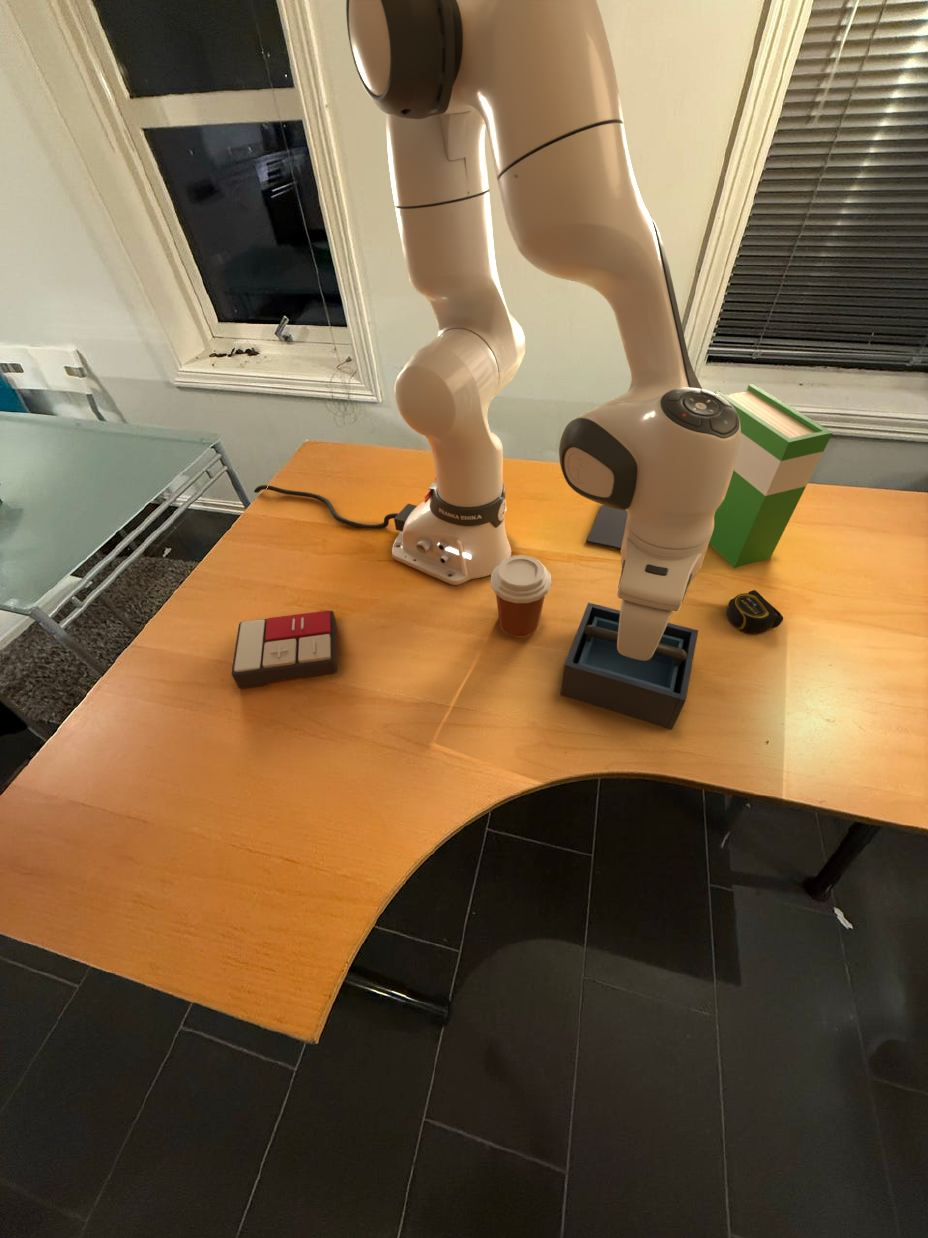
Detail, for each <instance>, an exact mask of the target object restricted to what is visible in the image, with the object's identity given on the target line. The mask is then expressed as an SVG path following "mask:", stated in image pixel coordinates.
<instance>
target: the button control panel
mask: <svg viewBox="0 0 928 1238" xmlns="http://www.w3.org/2000/svg"><path fill="white" fill-rule="evenodd" d="M337 630H338V629H337V620H336V616H335V613H334V611H333V610H320V611H312V612H311V611H310V612H305V613H296V614H289V615H281V616H280V615H279V616H272V617H268V618H260V619H253V620H252V619H251V620H246V621H240V622H239V623H238V627H237V633H236V634H237V635H236V642H235V647H234V654H233V655H234V656H233V660H232V667H231V676H232V678H233V680H234V682H235V685H236V686H237V687H238V689H239V690H240V689H250V688H256V687H257V688H258V687H263V686H265V685H266V684H269V683H274V682H281V681H286V680H288V681H289V680H295V679H303V678H308V677H310V678H311V677H316V676H323V675H330V674H336V673H337V672H338V635H337V634H338V631H337Z"/></svg>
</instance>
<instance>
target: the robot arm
mask: <svg viewBox="0 0 928 1238" xmlns="http://www.w3.org/2000/svg"><path fill="white" fill-rule="evenodd" d="M345 1H346V3H345V12H346V13H345V14H346V15H345V16H346V27H347V36H348V42H349V46H350V47H349V48H350V52H351V56H352V60H353V64H354V67H355V71H356V73H357V75H358V78H359V81H360V83H361V85H362V87H363V88H364V90H365V92H366V93H367V95H368V96H369V97H370V99H371V101H373V102H374V104H375V106H377V108H378V109H379V110H380V111H382V112H383V113H385V129H386V144H387V158H388V168H389V174H390V175H389V176H390V184H391V191H392V196H393V203H394V209H395V214H396V219H397V227H398V232H399V236H400V242H401V248H402V254H403V260H404V264H405V271H406V276H407V279H408V281H409V284H410V285H411V287H412V289H414V290H415V291H416V292H417V293H418V294H420V295H421V296H423V297H425V298H426V301H428V303H429V305H430V308H431V310H432V312H433V315H434V318H435V320H436V321H435V322H436V324H437V330H438V331H437V337H435V338H434V339H433V340H431V341H429V342H428V343H427V344H425V345H423V346H422V347H421V348H420V349H418V350H416V352H415V353H414V354H413V355H412V356H411V357H410V358H409V360H408V361H407V362H406V364H405V365H404V367H403V368H402V369H401V371H400V372H399V374H398V375H397V377H396V379H395V382H394V386H393V390H394V391H393V392H394V393H393V394H394V401H395V404H396V408H397V410H398V412H399V414H400V416H401V418H402V419H403V421H404V422H405V423H406V424H407V426H409V427H410V428H411V429H412V430H414V431H415V432H417V434H420V435H422V436H424V437H425V438H426V440H427V442H428V444H429V446H430V450H431V453H432V454H431V455H432V458H433V466H434V473H435V477H434V482H432V483H431V484H430V486H429V487H428V491H427V492H426V493H425V495H424V497H423V499H424V501H422V502H420V503H419V504H418V505H417V504H411V503H407V504H406V505H405V506H404V507H403V508H402V509H401V511H399V512H392V513H388V514H386V515H385V516H384V518H383V522H381V523H376V524H367V523H360V522H356V521H353V520H350V519H347V518H344V517H342V516H340V515H339V513H337V511H336V509H335V508H334V506H333V504H332V503H331V502H330V501H329V499H327V498H325V497H324V496H323V495H320V494H316V493H312V492H307V491H300V490H292V489H291V490H290V489H286V488H285V489H284V488H281V487H277V486H274V485H269V484H261V485H258V486H257V487H255V489H254V490H253V492H254V493H256V494H257V493H260V492H261V491H263V490H264V491H265V490H267V491H272V492H275V493H280V494H284V495H288V496H297V497H298V496H299V497H305V498H311V499H316V500H318V501H320V502H322V503H323V504H324V505H326V507H327V509H328V511H329V513H330V514H331V516H332V517H333V518H334V519H335V520H337V521H338V522H340V523H342V524H345V525H347V526H350V527H353V528H358V529H375V530H376V529H378V530H381V529H385V528H386V527H388V526H389V524H390V520H392V519H393V522H394V525H395V526H394V527H395V531H399V533H398V535H397V536H396V538H395V540H394V542H393V544H392V548H391V551H392V558H393V559H394V560H395V561H397V562H399V563H401V564H404V565H406V566H408V567H411V568H413V569H415V570H418V571H420V572H421V573H424V574H426V575H429V576H431V577H433V578H435V579H438V580H440V581H442V582H444V583H447V584H449V585H451V586H459V585H462V584H464V583H466V582H468V581H470V580H474V579H479V578H484V577H488V576H491V574H492V573H493V571H494V569H495V568H496V567H497V566H499V565H500V563H501V562H502V561H503V560H505V559H506V558H508V557H512V547H511V544H510V542H509V539H508V535H507V529H506V524H505V523H506V522H505V517H506V512H507V500H506V499H507V498H506V486H505V483H504V448H503V443H502V441H501V439H500V438H499V437H498V436H497V435H496V434H495V433H494V432H493V431H491V429H490V426H489V420H488V413H489V407H490V405H491V402H492V401H493V399H494V398H495V397H496V396H497V395H498V394H500V393H501V392H502V390H504V389H505V388H506V387H507V386H508V385H509V384H510V383H511V382H512V380H513V379H514V377H515V376H516V374H517V372H518V370H519V368H520V366H521V364H522V362H523V360H524V357H525V353H526V338H525V335H524V331H523V329H522V326H521V325H520V324H519V322H518V320H517V319H516V318H515V317H514V316H513V315H512V314H511V313H510V311H509V308H508V306H507V302H506V300H505V295H504V293H503V290H502V286H501V282H500V278H499V273H498V268H497V261H496V255H495V242H494V241H495V240H494V231H493V221H492V220H493V219H492V207H491V206H492V205H491V196H490V194H491V193H490V182H489V174H488V164H487V156H486V155H487V154H486V143H485V142H486V140H485V139H486V131H487V136H488V141H489V145H490V146H489V147H490V152H491V156H492V161H493V166H494V172H495V176H496V180H497V184H498V190H499V195H500V199H501V203H502V209H503V212H504V216H505V221H506V223H507V226H508V231H509V233H510V235H511V238H512V239H513V242H514V244H515V246H516V248H517V250H518V251H519V253H520V255H521V256H522V257H523V258H524V259H525V260H526V261H527V262H528V263H530V264H531V265H532V266H533V267H535V268H536V269H538V270H539V271H541V272H542V273H544V274H547V275H548V276H552V277H554V278H558V279H560V280H561V279H562V280H566V281H571V282H575V283H578V284H579V283H580V284H582V285H585V286H587V287H589V288H590V289H592V290H595V291H596V292H597V293H599V294H600V295H601V296H602V297H603V298H604V299H605V300H606V301H607V303H608V304H609V306H610V308H611V309H612V311H613V314H614V318H615V320H616V325H617V328H618V331H619V336H620V338H621V342H622V346H623V350H624V354H625V357H626V361H627V365H628V368H629V371H630V378H631V379H630V385H629V388H628V390H627V392H625V393H623V394H621V395H619V396H617V397H615V398H613V399H610V400H609V401H606V402H603V403H600V405H597V406H595V407H594V408H591V409H589V410H588V411H586V412H583V413H582V414H580V415H579V416H577V417H575V418H574V419H573V420H571V421H570V422H568V424H567V425H566V426H565V427H564V430H563V432H562V434H561V437H560V441H559V448H558V450H559V451H558V457H559V466H560V470H561V472H562V475H563V477H564V480H565V482H566V483H567V485H568V486H569V487H570V488H571V489H572V490H573V491H574V492H575V493H577V494H578V495H580V496H582V497H583V498H585V499H587V500H590V501H592V502H594V503H597V504H600V505H601V506H602V505H604V506H608V507H610V508H614V509H618V510H627V512H628V516H627V521H626V526H625V531H624V536H623V542H622V547H621V550H620V557H621V558H620V559H621V561H620V562H621V573H620V577H619V583H618V586H617V594H616V595H617V598H618V599H621V602H620V603H621V604H620V609H619V610H620V618H619V628H618V640H617V649H618V652H619V653H620V654H621V655H624V656H626V657H630V658H633V659H637V660H643V661H647V660H649V659H650V658H651V657H652V656H653V654H654V652H655V650H656V648H657V646H658V644H659V642H660V640H661V637H662V635H663V633H664V631H665V629H666V626H667V624H668V623H670V619H671V617H672V615H673V612H678V611H680V609H681V607H682V604H683V602H684V600H685V596H686V593H687V590H688V588H689V585H690V584H691V582H692V581H693V579H694V578H695V576H696V575H697V573H698V572H699V571H700V569H701V567H702V565H703V562H704V559H705V556H706V554H707V550H708V548H709V545H710V544H709V542H710V539H711V536H712V533H713V530H714V515H715V512H716V510H717V509H718V507H719V506H720V505H721V503H722V502H723V500H724V498H725V496H726V493H727V490H728V487H729V484H730V480H731V477H732V474H733V470H734V466H735V463H736V459H737V454H738V449H739V444H740V435H741V428H740V420H739V416H738V413H737V411H736V410H735V408H734V407H733V406H732V405H731V404H730V403H729V402H728V401H727V400H725V399H724V398H722V397H721V396H719V395H717V394H715V393H714V391H710V390H707V389H703V387H702V385H701V383H700V382H699V379H698V378H697V375H696V373H695V371H694V368H693V366H692V363H691V360H690V356H689V352H688V348H687V343H686V339H685V334H684V329H683V324H682V321H681V316H680V315H681V314H680V310H679V306H678V305H679V304H678V301H677V298H676V293H675V288H674V283H673V277H672V273H671V269H670V265H669V260H668V258H667V257H668V256H667V253H666V250H665V246H664V242H663V239H662V236H661V233H660V231H659V228H658V226H657V224H656V222H655V220H654V219H653V217H652V215H651V214H650V213H649V211H648V209H647V208H646V206H645V204H644V202H643V199H642V196H641V193H640V190H639V188H638V187H639V186H638V184H637V181H636V178H635V174H634V171H633V166H632V162H631V157H630V152H629V148H628V143H627V142H628V141H627V136H626V131H625V129H626V128H625V125H624V123H625V122H624V115H623V108H622V102H621V96H620V90H619V85H618V80H617V79H618V78H617V74H616V69H615V66H614V60H613V57H612V53H611V48H610V44H609V39H608V36H607V32H606V29H605V25H604V21H603V17H602V14H601V11H600V8H599V5H598V1H597V0H345ZM268 485H269V486H268ZM267 486H268V488H267ZM266 488H267V489H266Z"/></svg>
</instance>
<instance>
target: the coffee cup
mask: <svg viewBox="0 0 928 1238" xmlns="http://www.w3.org/2000/svg"><path fill="white" fill-rule="evenodd" d="M551 576H552V575H551V573H550V572H549V570H548V568H547V567H546V566H545V565H544V564H543V563H542V562H541V561H540V559H537V558H535V557H534V556H529V555H526V554H514V555H511V557H508V558H506V559H505V560H503V561H502V562H501V563H500V565H499V566H497V567H496V568H495V569H494V571H493V573H492V574H491V575H490V587H491V589H492V590H493V592H494V594H495V597H496V603H497V604H496V605H497V614H498V623H499V627H500V628H501V630H502V631H503V632H504V633H506V634H507V635H509V636H511V637H514V638H524V637H528V636H531V635H532V634H534V633H535V632H537V629H538V628H539V625H540V622H541V618H542V617H541V616H542V612H543V611H542V610H543V606H544V601H545V598H546V597H545V596H546V595H547V594H548V593H549V591H550V589H551V588H552V587H551V586H552V577H551Z"/></svg>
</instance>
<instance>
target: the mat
mask: <svg viewBox="0 0 928 1238" xmlns="http://www.w3.org/2000/svg"><path fill="white" fill-rule="evenodd" d="M627 516H628V512H627V510H618V509H614V508H610V507H608V506H605V505H602V504H601V506H600V507H599V511H598V513H597V515H596V517H595V520H594V522H593V525H592V527H591V529H590V532H589V534H588V536H587V539H586V544H591V545H594V546H599V547H602V548H603V547H604V548H609V549H614V550H618V551H621V547H622V542H623V536H624V531H625V526H626V521H627Z"/></svg>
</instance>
